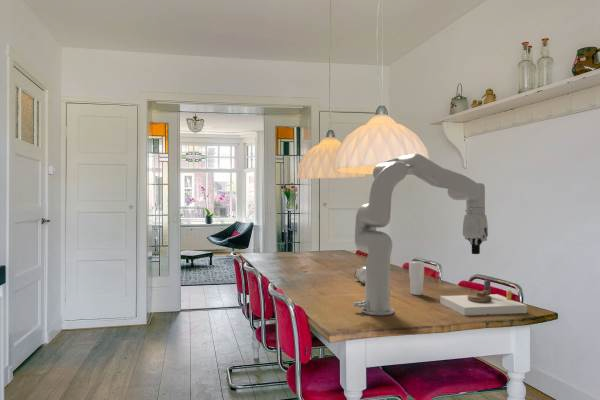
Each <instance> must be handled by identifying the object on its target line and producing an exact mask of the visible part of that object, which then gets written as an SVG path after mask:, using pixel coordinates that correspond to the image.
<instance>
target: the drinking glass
mask: <svg viewBox="0 0 600 400" xmlns="http://www.w3.org/2000/svg"><path fill="white" fill-rule="evenodd" d="M408 273H409V274H408V275H409V283H410V284H409V287H410V294H411V296H413V295H414V296H421V295H423V288H424V277H425V262H424V261H421V260H411V261H408Z"/></svg>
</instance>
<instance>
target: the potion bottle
mask: <svg viewBox="0 0 600 400" xmlns="http://www.w3.org/2000/svg"><path fill="white" fill-rule="evenodd" d="M353 278H355V279H357V280H358V281H359V282H361V283H362V284H364V285H365V265H363V266H361V267H360V268H356V269H355V271H354V275H353Z"/></svg>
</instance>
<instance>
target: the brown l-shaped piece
mask: <svg viewBox="0 0 600 400" xmlns="http://www.w3.org/2000/svg"><path fill="white" fill-rule="evenodd" d="M490 294H491V279H484V280H483V290H481V291H479V292H477V293H470V294H467V295H468V300H470V301H474V302H491V301H492V297H491V296H489V295H490Z"/></svg>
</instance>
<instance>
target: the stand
mask: <svg viewBox="0 0 600 400" xmlns="http://www.w3.org/2000/svg"><path fill="white" fill-rule="evenodd" d="M468 295H469V294H467V295H466V294H465V295H464V294H463V295H439V296H440V297H439V299H440V300H439V301H440V304H441V305H442V306H445V307H446V308H447V307H448V308H449V309H451V310H453V311H455V312H456V313H459V314H460V315H463V316H486V315H487V314H489V315H506V314H507V315H511V314H512V315H513V314H527V313H528V305H527V304H524V303H522V302H519V301H517V300H514V299H512V290H506V296H504V295H501V294H498V293H495V294H492V293H490V295H489V296H491V297H492V301H491V302H474V301H470V300H468Z"/></svg>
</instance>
